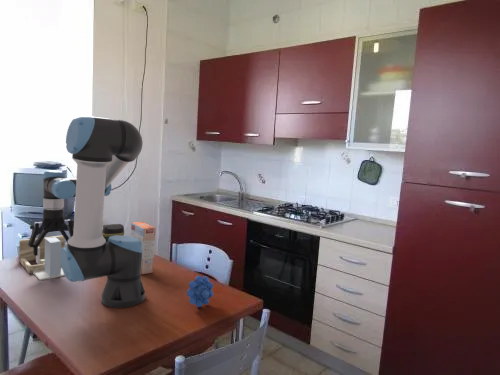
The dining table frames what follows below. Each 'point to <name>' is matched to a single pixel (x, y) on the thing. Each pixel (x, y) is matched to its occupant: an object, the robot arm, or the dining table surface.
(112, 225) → the coffee jar
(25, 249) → the rack
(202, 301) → the blue knobbly flower shape
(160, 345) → the dining table surface
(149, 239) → the cracker box
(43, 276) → the mat
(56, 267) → the white rectangular box
